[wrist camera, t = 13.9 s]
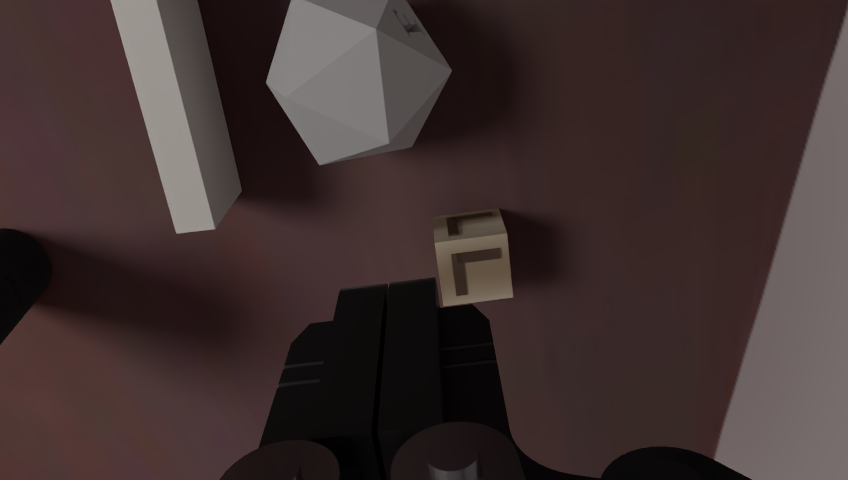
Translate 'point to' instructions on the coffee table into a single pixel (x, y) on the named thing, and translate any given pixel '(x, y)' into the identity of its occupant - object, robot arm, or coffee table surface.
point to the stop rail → (180, 108)
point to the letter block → (472, 257)
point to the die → (356, 76)
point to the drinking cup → (20, 277)
